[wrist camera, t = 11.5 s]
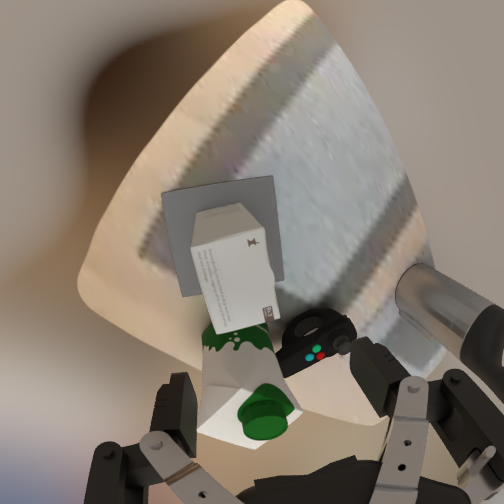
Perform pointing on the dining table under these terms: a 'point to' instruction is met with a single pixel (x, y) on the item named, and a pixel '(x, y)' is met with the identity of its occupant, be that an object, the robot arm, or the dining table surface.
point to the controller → (314, 339)
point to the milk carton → (243, 388)
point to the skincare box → (233, 268)
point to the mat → (212, 196)
